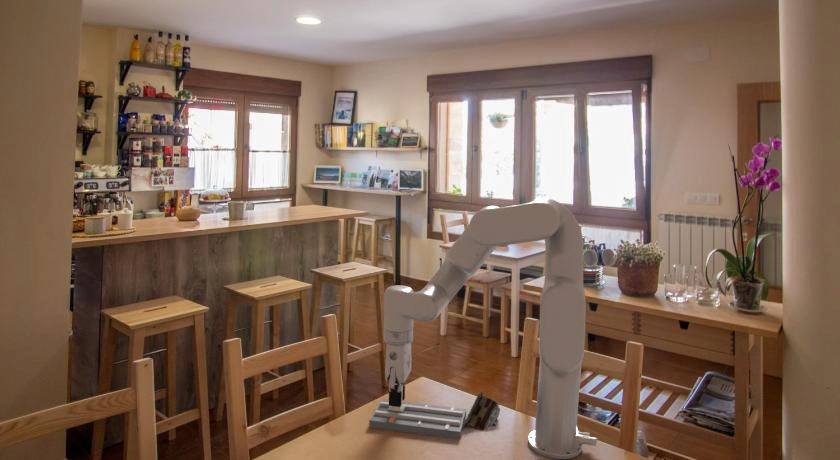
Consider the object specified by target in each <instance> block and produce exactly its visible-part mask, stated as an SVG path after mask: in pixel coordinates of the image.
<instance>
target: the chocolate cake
mask: <svg viewBox="0 0 840 460" xmlns="http://www.w3.org/2000/svg"><path fill="white" fill-rule="evenodd" d="M475 398H476V399H475V400H474V403H473V405H472V406H471V409H470V411H469V413H468V414H467V415H466V417H465V422H464V426H463V428H464V427H466V428H467V427H468V426H469V425H470V426H471V427H474V428H476V429H479V430H480V431H486V430H487V429H488V427H489V426H496V423H495V420H497V419H498V418H499V415H500V412H501V408H500V407H499V406H500V403H499V402H498V401H496V400H495V399H491V398H490V397H487V396H486V395H483V392H482V387H481V388H480V391H479V393H478V395H476V397H475Z"/></svg>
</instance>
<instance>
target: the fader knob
mask: <svg viewBox="0 0 840 460" xmlns="http://www.w3.org/2000/svg"><path fill="white" fill-rule="evenodd" d="M395 385H397V386H398V384H397V383H395ZM400 391H402V399H401V407H395V406H389V408H388V412H395V413H404V411H405V406H403V401H404V400H403V384H401V390H400Z"/></svg>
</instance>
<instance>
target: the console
mask: <svg viewBox="0 0 840 460" xmlns="http://www.w3.org/2000/svg"><path fill="white" fill-rule="evenodd" d="M403 406H405V411H404V413H395V412H388V408H389V399H384V398H382V399H381V400H380V402H379V403H378V405H377V407H376V408H375V410H374V412H373V413H372V415H371V416H370V418H369V422H368V423H369V427H368V428H370V429H376V430H377V429H379V430H385V431H391V432H400V433H406V434H415V435H423V436H428V437H429V436H430V437H431V436H432V437H439V438H443V439H444V438H445V439H446V438H447V439H454V440H458V441H459V440H461V439H462V438H461V437H462V434H463V429H464V427H463V426H464V423H465V420H466V418H467V409H465V408H460V407H459V408H457V407H449V406H443V405H434V404H433V405H432V404H425V403H417V402H416V403H415V402H410V401H409V402H408V401H404V400H403Z"/></svg>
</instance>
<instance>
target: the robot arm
mask: <svg viewBox="0 0 840 460" xmlns="http://www.w3.org/2000/svg"><path fill="white" fill-rule="evenodd" d="M580 226H581V225H580V224H579V222H578V220H577V218H576V217H575V215H574V213H572V212H571V211H570V209H568V208H567V207H566V206H565V205H563V204H562V203H560V202H559V201H557V200H554V199H552V198H550V197H537V198H535V199H533V200H531V201H530V202H527V203H526V202H525V203H522V204H514V205H508V206H501V207H500V206H497V205H487V206H484V207H482V208H481V209H479V210H477V211H476V212H475V213H474V214H473V216H472V217H471V219H470V221H469V223H468V225H467V226H466V228H465V230H463V232H462V233H461V234H460V236H459V237H458V238H457V239H456V240H455V242H454V243H453V244H452V245H451V246H450V248H449V249H448V251H447V252H446V255H445V259H444V260H443V262H442V265H441V266H440V267H439V269H438V270H437V271H436V273H435V274H434V275H433V277H431V279H430V280H429V281H428V282H427V283H426V284H425V286H424V287H423V288H421V290H419V291H414V289H413V288H412V287H410V286H407V285H402V284H400V285H399V284H396V285H391V286H388V287H387V288H386V289H385V290H384V295H383V296H384V297H383V298H384V300H383V301H384V303H383V342H385V344H386V348H385V349H386V350H385V364H384V365H385V371H384V375H385V381H386V382H388V400H389V406H395V407H401V399H402V391H400V390H401V384H403V401H404V400H405V398H406V385H405V384H406V380H407V379H408V377H409V375H410V373H411V371H412V342H413V341H414V321H417V322H421V323H431V322H433V321H435V320H436V319H437V318H438V317H439V315H440V314H442V312H443V311H444V309H445V308H446V307H447V306H448V305H449V304H450V302H451V301H452V300H453V298H454V297H455V296H456V294H457V293H458V292H459V291H460V290H461V289H462V287H463V286H464V285H465V284H466V283H467V281H468V280H469V279H471V278H472V277H473V276H474V275H475V274H476V273H477V272H478V271H479V270H480V268H481V267H482V266H483V264H484V263H485V262H486V261H487V260H488V258H489V257H490V256H491V254H492V253H493V252H494V251H495V250H496V249H497V248H498V247H501V246H503V247H504V246H509V245H516V244H524V243H533V242H540V241H543V240H544V244H545V245H544V246H545V247H544V248H545V249H544V251H545V253H544V254H545V257H544V261H545V265H544V267H545V268H544V283H543V286H542V291H541V295H540V304H539V331H538V332H539V334H538V335H539V336H538V337H539V339H538V340H539V342H538V352H539V369H538V382H537V383H538V384H537V395H536V397H537V398H536V409H535V410H536V412H535V413H536V414H535V428H534V430H532V431H530V433H529V434H528V437H527V443H528V445H529V447H530V448H531V449H532V450H533V451H535V453H538V455H541V456H544V457H546V458H551V459H555V460H569V459H573V458H575V457H576V458H577V457H578V456H579V455H580V454H581V453H582V449H583V445H587V446H591V447H596V446H597V443H598V442H597V437H594V436H591V432H587V431H586V432H585V431H584V432H583V431H580V430H579V429H578V425H577V424H578V413H579V397H580V387H581V373H582V362H583V359H584V355H585V339H586V316H587V314H586V313H587V311H586V310H587V309H586V308H587V305H586V303H587V301H586V292H585V287H584V239H583V233H582V229H581V227H580ZM395 383H397V384H398V386H397V385H395Z"/></svg>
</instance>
